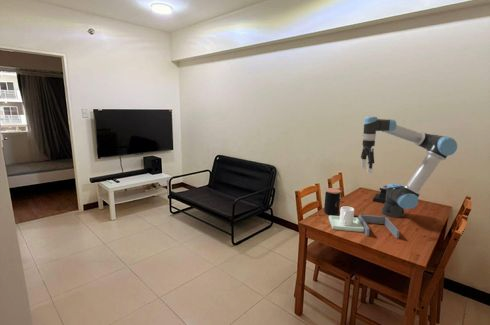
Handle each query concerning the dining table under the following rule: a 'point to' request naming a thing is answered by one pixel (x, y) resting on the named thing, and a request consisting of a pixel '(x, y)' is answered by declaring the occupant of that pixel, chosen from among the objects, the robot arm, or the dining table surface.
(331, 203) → the coffee jar
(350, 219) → the mug
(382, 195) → the camera
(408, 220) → the dining table surface
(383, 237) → the dining table surface
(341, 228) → the tray
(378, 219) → the bay
